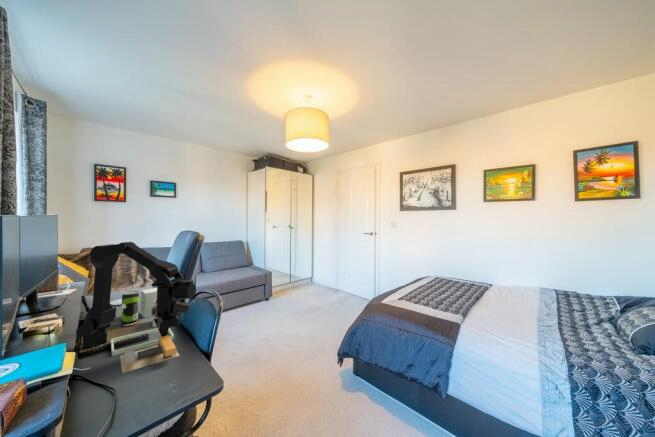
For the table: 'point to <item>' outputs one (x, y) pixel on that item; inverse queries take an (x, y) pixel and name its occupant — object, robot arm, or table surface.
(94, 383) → the table surface
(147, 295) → the supplement box
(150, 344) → the tray
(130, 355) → the lead
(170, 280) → the robot arm
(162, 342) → the bar
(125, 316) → the beverage can
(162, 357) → the tie board
